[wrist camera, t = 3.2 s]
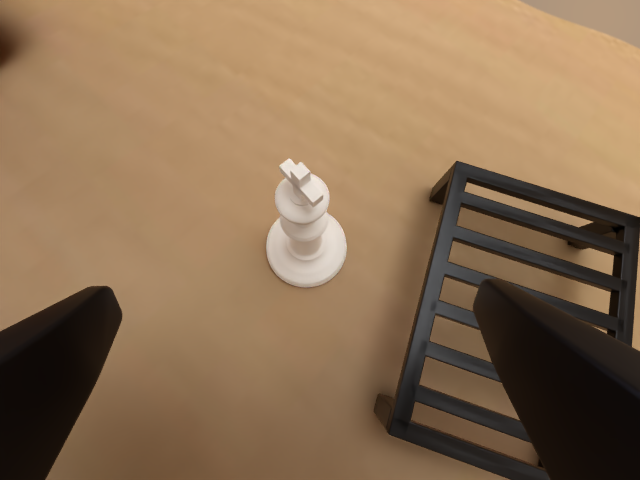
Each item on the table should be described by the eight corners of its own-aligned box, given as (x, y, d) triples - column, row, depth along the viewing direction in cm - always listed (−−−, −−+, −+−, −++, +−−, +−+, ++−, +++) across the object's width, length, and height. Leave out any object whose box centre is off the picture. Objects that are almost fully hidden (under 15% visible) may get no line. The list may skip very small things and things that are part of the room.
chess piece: (302, 305, 18) (289, 286, 8) (250, 243, 19) (184, 162, 9) (363, 251, 19) (415, 179, 9) (310, 194, 20) (308, 75, 10)
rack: (555, 478, 16) (620, 520, 13) (373, 411, 17) (388, 434, 13) (584, 235, 20) (641, 217, 16) (432, 187, 20) (456, 160, 17)
